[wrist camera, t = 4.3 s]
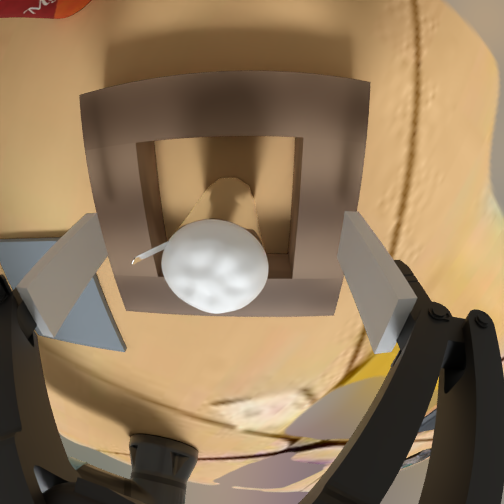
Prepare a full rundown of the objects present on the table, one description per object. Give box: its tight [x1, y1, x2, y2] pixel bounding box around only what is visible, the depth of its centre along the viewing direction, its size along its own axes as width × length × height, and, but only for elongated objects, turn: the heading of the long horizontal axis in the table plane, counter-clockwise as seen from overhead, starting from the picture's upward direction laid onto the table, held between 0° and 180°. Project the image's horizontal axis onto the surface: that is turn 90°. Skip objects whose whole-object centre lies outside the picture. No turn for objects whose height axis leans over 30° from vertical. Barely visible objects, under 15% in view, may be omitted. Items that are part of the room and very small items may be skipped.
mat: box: [0, 237, 126, 352], centre depth 24 cm, size 14×14×1 cm
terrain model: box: [400, 449, 431, 469], centre depth 68 cm, size 20×15×3 cm
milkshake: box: [131, 177, 268, 314], centre depth 14 cm, size 4×5×10 cm
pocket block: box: [80, 71, 370, 317], centre depth 17 cm, size 16×16×3 cm
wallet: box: [418, 409, 437, 432], centre depth 44 cm, size 20×2×15 cm
